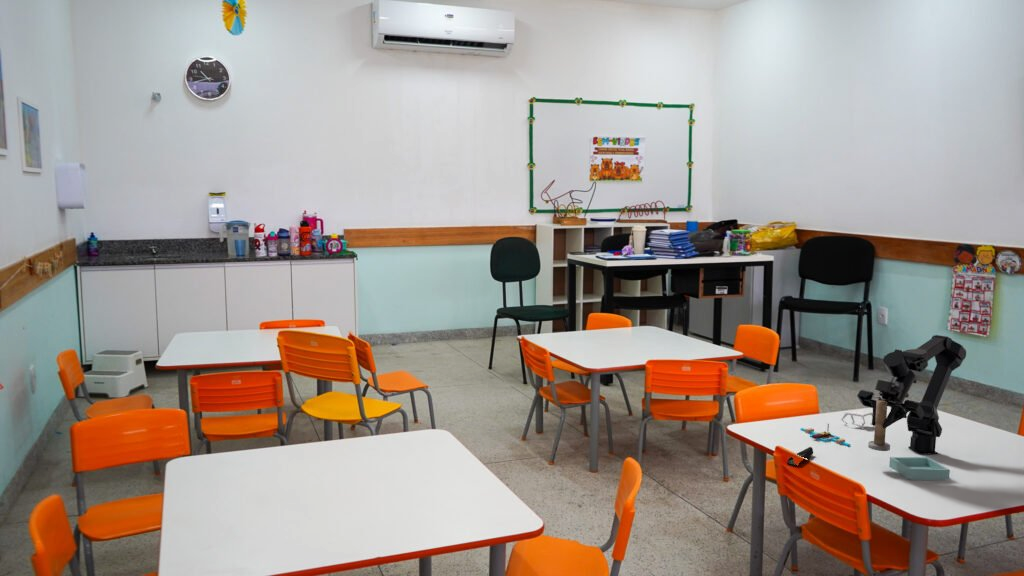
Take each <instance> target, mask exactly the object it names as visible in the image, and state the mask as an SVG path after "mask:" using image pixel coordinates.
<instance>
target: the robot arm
mask: <svg viewBox="0 0 1024 576" xmlns="http://www.w3.org/2000/svg"><path fill="white" fill-rule="evenodd" d="M966 357H967V350H966V349H965V348H964V346H963V345H962V344H960V343H959V342H956V341H954V340H953V339H952V338H951V337H949V336H945V335H939V334H935V335H932V336H931V339H929V340H927V341H926V342H925V343H923V344H921V345H920V346H919V347H917V348H914V349H913V348H912V349H906V350H901V349H897V348H896V349H894V351H892V352H889V353H887V354H886V355H884V356H883V359H882V361H883V364H884V365H885V367H886V370H887V372H888V373H889V375H890V376H892V378H891V379H890V381H889V380H888V381H887V380H883V379H882V380H881V379H877V381H876V385H875V388H874V390H875V391H878V395H880V396H881V397H880V396H878V395H875V393H874V392H873V391H870V390H866V389H860V391H858V393H857V394H856V395H857V396H856V397H857V398H858V400H859V402H860V403H861V404H862V405H863V407H867V408H870V409H871V408H872V413H873V416H871V422H872V425H873V426H872V427H875V417H876V401H877V400H883V401H887V407H890V411H889V413H887V417H886V420H885V421H884V424H883V428H886V429H887V428H888V427H889V426H891V425H893V424H894V423H896V422H898V421H900V420H903V419H906V425H907V431H908V432H912V435H911V436H910V440H909V441H910V443H909V444H910V445H909V446H908V449H909V450H911V451H913V452H914V453H916V454H918V455H939V452H938V451H936V445H937V444H936V443H937V442H936V441H937V438H940V437H941V435H942V433H943V428H942V426H941V423H940V422H939V419H940V416H939V413H938V407H939V404H940V401H941V399H942V397H943V394H944V392H945V389H946V387H947V385H948V382H949V380H950V377H951V375H952V372H953V371H954V370H956V369H958V368H959V367H961V365H962V363H963V362H964V360H965V359H966ZM933 358H935V359H934V360H935V363H936V365H935V367H934V371H933V372H932V375H931V378H930V380H929V382H928V385H927V387H926V390H925V392H924V394H923V396H922V399H921V401H920V402H918V401H914V400H910V399H909V396H910V395H909V391H910V389H911V388H912V387H913V384H917V383H918V381H917V380H918V379H917V377H916V374H915V373H914V372H917V373H922V372H924V371H925V369H927V368H928V366H929V361H930V360H931V359H933ZM905 398H908V399H905Z"/></svg>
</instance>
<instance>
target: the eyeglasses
mask: <svg viewBox="0 0 1024 576" xmlns="http://www.w3.org/2000/svg"><path fill="white" fill-rule="evenodd" d="M847 416H850V418H851V420H852V423H851V425H853V424H855V418H854V416H855V417H861V420H862V424H861V430H864V429H865V427H864V426H865V425H866V421H865V420H866V419H865V417H868V416H871V417H872V416H873V412H871V411H859V410H857V411H855V410H852V411H849V412H845V413H844V415H843V416H842V418H840V421H842V422H843V423H844V426H846V425H847V424H848V423H847V422H846V421H845V420H844V419H845V418H846V417H847ZM871 425H872V421H871V422H870V426H871Z"/></svg>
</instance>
